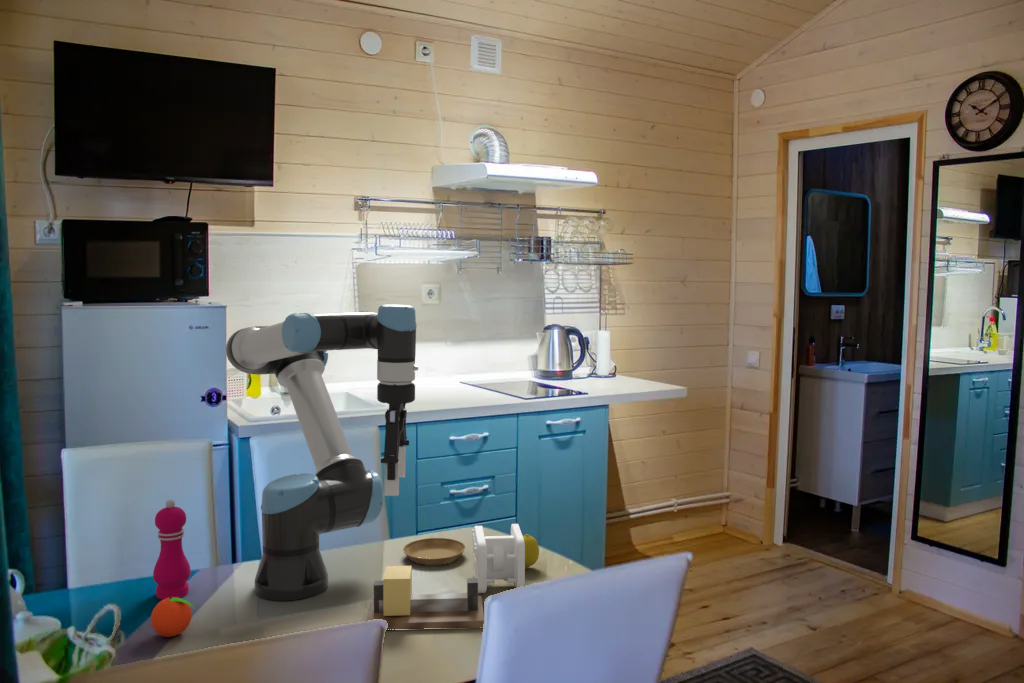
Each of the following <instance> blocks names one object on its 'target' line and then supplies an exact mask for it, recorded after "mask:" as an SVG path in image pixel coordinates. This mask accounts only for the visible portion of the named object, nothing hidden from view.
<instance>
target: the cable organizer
mask: <svg viewBox="0 0 1024 683" xmlns="http://www.w3.org/2000/svg"><path fill="white" fill-rule="evenodd" d="M523 536H524V535H523V533H522V531H521V528H520V525H519V524H518V523H511V526H510V535H491V536H490V535H489V536H487V535H485V531H484V526H483V525H474V527H473V528H471V539H472V553H473V554H472V557H473V563H472V564H473V565H472V566H473V568H472V569H473V575H474V578H478V594H486V593H487V588H488V584H492V585H493V586H492V587H494V586H495V580H506V582H507V585H509V583H512V584H513V583H514V585H515V589H516V588H517V587H520V586H524V585H526V584H525V583H526V580H525V578H526V577H525V576H526V575H525V574H526V571H525V570H526V568H525V542H524V538H523ZM524 587H525V586H524Z"/></svg>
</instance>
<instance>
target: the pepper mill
mask: <svg viewBox="0 0 1024 683" xmlns="http://www.w3.org/2000/svg"><path fill="white" fill-rule="evenodd" d="M175 505H176V503H175V500H173V499H168V500H167V501H166V502H165V507H163V508H162V509H160V510H158V512H157V513H156V514H155V517H154V525H155V527H156V528H157V529H158V531H157V534H158V536H157V539H158V540H160V551H159V555H158V558H157V560H156V562H155V565H154V567H153V572H152V573H153V574H152V578H153V581H154V583H156V584H157V586H155V596H156V598H157V599H159V600H164V599H166V598H169V597H178V598H183V597H185V596H187V595H188V594H189V591H190V587H189V586H190V585H189V582H188V579H190V577H191V573H192V571H191V570H192V569H191V565H190V563H189V561H188V559H187V557H186V554H185V553H184V549H183V537H185V529H184V526H185V525H186V522H187V514H186V512H185V511H184V509H183V508H181V507H179V506H175Z"/></svg>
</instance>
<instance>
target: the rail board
mask: <svg viewBox="0 0 1024 683" xmlns="http://www.w3.org/2000/svg"><path fill="white" fill-rule="evenodd" d="M466 579H467V581H466V582H467V584H466V586H467V587H466V588H467V589H466V591H467V592H466V593H464V592H463V593H430V594H429V593H428V594H424V593H423V594H422V593H421V594H412V595H411V598H410V600H411V611H410V615H396V616H384V611H383V580H374V583H373V598H371V602H370V606H369V610H368V614H367V619H366V621H367V620H373V619H383V620H386V621H387V623H388V628H387V630H388V629H389V630H390V629H391V630H392V629H394V630H395V629H424V628H478V629H483V628H482V627H483V620H484V621H485V616H484V608H483V597H482V595H479V593H478V578H475V577H474V578H473V577H472V578H466ZM480 627H481V628H480Z"/></svg>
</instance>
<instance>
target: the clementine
mask: <svg viewBox="0 0 1024 683" xmlns="http://www.w3.org/2000/svg"><path fill="white" fill-rule="evenodd" d="M191 608H192V609H193V611H194V612H196V610H195V607H194V606H193V604H192V603H191V602H190V601H188V600H187V599H185V598H183V597H180V598H178V597H169V598H166V599H164V600H163V599H161V600H160V601H159V602H158V603H157V604H156V605H155V607H154V608H153V610H152V612H151V614H150V615H151V616H150V625H151V627H152V629H153V631H154V632H156V634H157V635H160V636H162V637H164V638H165V637H166V638H171V637H177V636H179V635H180V634H182V633H183V632H185V630H186V629H187V628H188V627H189V626H190V623H191V620H192V614H193V613H192V609H191Z"/></svg>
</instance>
